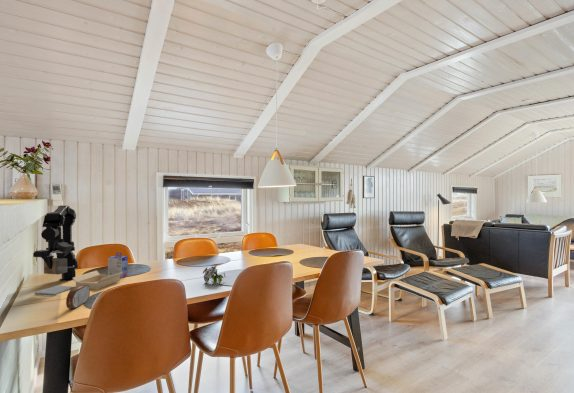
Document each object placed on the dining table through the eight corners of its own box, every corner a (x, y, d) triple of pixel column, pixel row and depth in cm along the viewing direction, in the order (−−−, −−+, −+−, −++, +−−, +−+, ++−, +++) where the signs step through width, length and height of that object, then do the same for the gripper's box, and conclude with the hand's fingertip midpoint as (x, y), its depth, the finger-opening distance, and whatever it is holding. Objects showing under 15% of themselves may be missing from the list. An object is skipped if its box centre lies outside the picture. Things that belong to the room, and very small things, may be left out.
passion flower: (206, 293, 176) (198, 273, 180) (224, 286, 182) (216, 267, 186) (210, 286, 167) (202, 266, 172) (229, 279, 173) (220, 259, 178)
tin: (84, 299, 151) (84, 282, 151) (91, 299, 152) (91, 281, 152) (65, 311, 136) (64, 292, 136) (73, 311, 137) (72, 291, 137)
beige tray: (72, 288, 170) (72, 277, 170) (96, 280, 185) (96, 270, 185) (101, 290, 166) (101, 279, 166) (123, 281, 182) (123, 271, 182)
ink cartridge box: (128, 276, 193) (128, 252, 193) (122, 278, 188) (121, 254, 188) (114, 275, 195) (113, 251, 195) (107, 278, 190) (107, 253, 190)
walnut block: (44, 273, 163) (43, 259, 163) (53, 271, 168) (52, 257, 168) (58, 274, 161) (58, 260, 161) (67, 271, 166) (67, 258, 166)
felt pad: (34, 294, 160) (34, 292, 160) (56, 287, 172) (56, 285, 172) (54, 295, 158) (54, 293, 158) (75, 288, 169) (75, 286, 169)
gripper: (51, 240, 154) (51, 273, 154) (83, 235, 172) (83, 264, 172) (31, 240, 156) (32, 272, 156) (65, 234, 174) (66, 263, 174)
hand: (55, 267), depth 165 cm, fingers closed on walnut block, 5 cm apart
